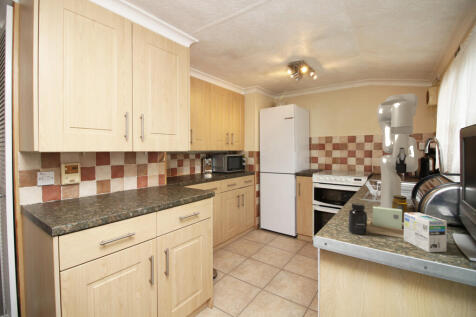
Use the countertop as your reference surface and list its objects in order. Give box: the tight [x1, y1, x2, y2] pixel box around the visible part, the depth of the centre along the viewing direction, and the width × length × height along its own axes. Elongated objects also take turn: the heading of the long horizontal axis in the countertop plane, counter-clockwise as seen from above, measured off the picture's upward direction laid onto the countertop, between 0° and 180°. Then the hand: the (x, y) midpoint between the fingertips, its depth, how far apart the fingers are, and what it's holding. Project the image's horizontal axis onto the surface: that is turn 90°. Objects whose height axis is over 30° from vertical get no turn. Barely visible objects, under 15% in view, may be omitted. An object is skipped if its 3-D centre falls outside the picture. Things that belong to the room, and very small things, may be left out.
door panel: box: [372, 206, 403, 229], centre depth 92 cm, size 3×10×9 cm, turn 58°
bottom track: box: [367, 219, 404, 239], centre depth 92 cm, size 7×14×3 cm, turn 58°
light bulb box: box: [403, 212, 448, 253], centre depth 79 cm, size 11×7×11 cm, turn 5°
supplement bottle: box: [347, 202, 368, 236], centre depth 92 cm, size 7×7×12 cm
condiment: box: [392, 195, 409, 225], centre depth 107 cm, size 7×8×12 cm
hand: (400, 171), depth 95 cm, fingers open, 9 cm apart
